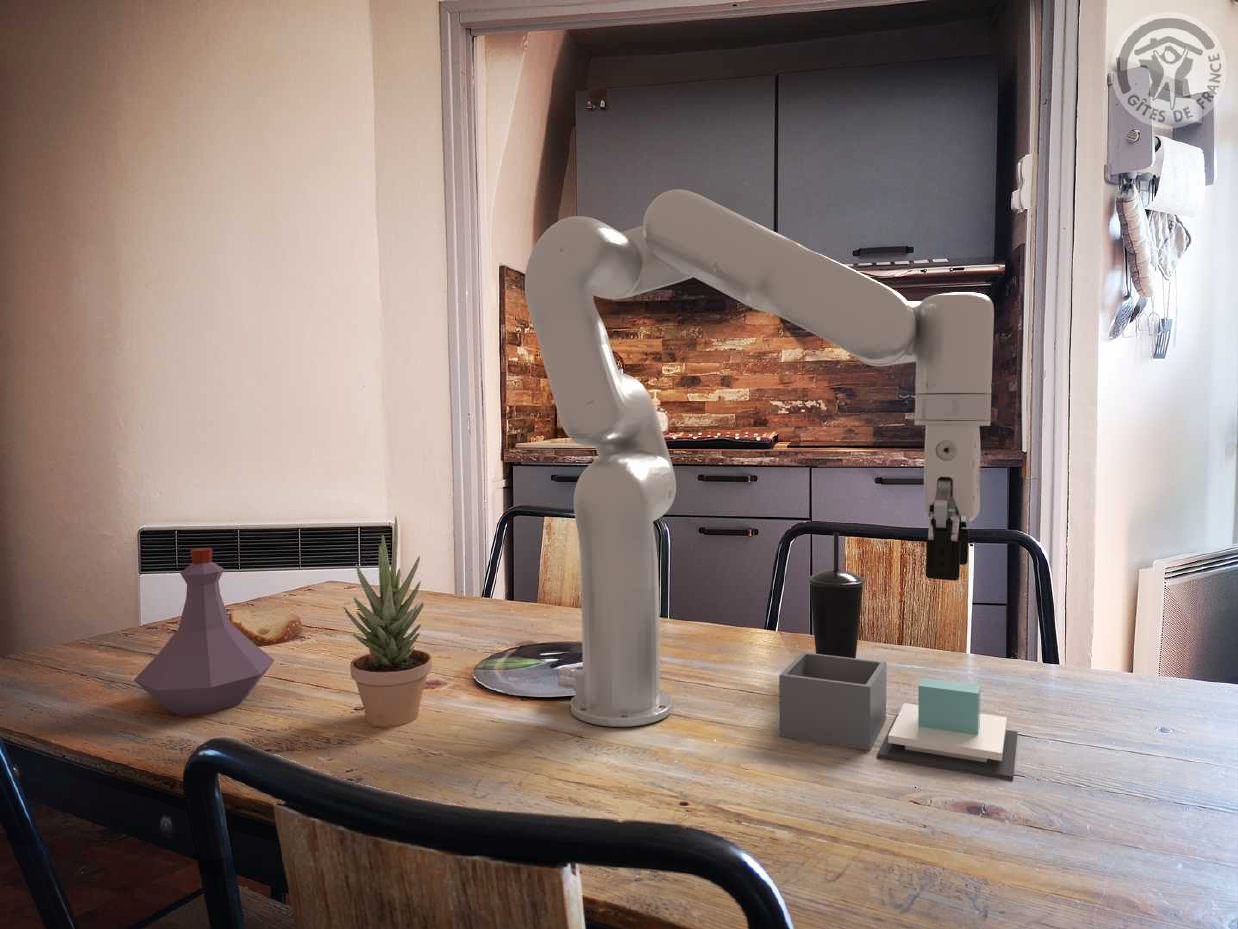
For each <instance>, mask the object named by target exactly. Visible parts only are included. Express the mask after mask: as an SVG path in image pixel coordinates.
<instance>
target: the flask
mask: <svg viewBox="0 0 1238 929" xmlns="http://www.w3.org/2000/svg"><path fill="white" fill-rule="evenodd" d="M189 552H190V556H191V558H190V559H191V563H190V564H189V565H187V567H186V568H184V569H183V570H182V571H181V572H179V573H180V575H181V577H182V579H183V580H184V582H185V584H186V592H185V593H186V595H185V601H184V605H183V609H182V613H181V617H180V620H179V624H178V628H177V630H176V631H175V632H174V634H173V635H172V636H171V637H170V638H169V639H168V641H167V642H166V643H165V645H164V646H163V648H161V650H160V651H159V652H158V653H157V654H156V655H155V657H153V659H152V660H151V661H150V662H149V663H148V664H147V665H146V666H145V667H144V669H143V670H141V672H140V673H139V674H138V675H137V676H136V677H135V678H134V679H133V681H134V683H135V684H137V685H138V686H140V687H141V688H142V689H143V690H144V691H145V692H146V693H147V694H149V695H150V696H151V697H152V698H154V699H155V700H156V701H157V702H158V703H160V704H161V705H162V706H163V707H164V708H166V709H167V711H171V712H172V713H175V714H176V715H177V714H178V715H179V716H184V715H204V714H205V715H206V714H207V715H208V714H213V713H217V712H220V711H224V710H227V709H230V708H233V707H237V706H240V705H241V704H242V702H243V701H244V700H245V699H246V698H247V697H248V696H249V694H250V693H251V692H252V691H253V689H254V688H255V687H256V685H257V684H258V683H259V681H260V680H261V679H262V678H263V676H264V675H265V673H266V672H267V671H268V670H269V668H270V667H271V666H272V664H273V663H274V662H275V659H274V658H273V657H271V656H270V655H269V654H268V653H267V652H265V651H264V650H263V649H261V648H260V646H256V645H255V644H254V643H252V642H251V641H250V640H249V639H248V638H247V637H245V636H244V635H243V634H242V633H241V632H240V631H239V630H238V629H237V628H236V627H235V626H234V625H233V624H232V623H231V622H230V620H229V615H228V612H227V609H226V606H225V604H224V600H223V598H222V595H221V590H220V583H219V581H220V579H221V577H222V575H223V573H224V570H225V568H223V567H222V566H220V565H218V564H217V563H215V562H213V561H212V559H213V548H212V547H199V548H193V549H190V551H189Z"/></svg>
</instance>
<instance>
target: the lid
mask: <svg viewBox="0 0 1238 929" xmlns="http://www.w3.org/2000/svg"><path fill="white" fill-rule="evenodd" d="M981 690H982V689H981V684H974V683H967V682H959V681H949V680H941V679H934V678H933V679H932V678H927V677H922V678H921V680H920V681H919V685H918V697H917V698H918V699H917V700H918V704H914V703H907V702H906V703H905V702H904V703H903V705H901V706H902V707H901V709H900V711H899V713H898V714H899V715H898V717H897V719H896V721H895V723H894V725H893V727H892V729H891V731H890V733H889V735H888V743H893V744H899V745H905V749H907V750H913V751H919V752H925V753H931V754H938V755H944V756H950V757H956V758H962V759H969V760H975V761H981V762H987V759H993V760H1000V761H1002V756H1003V749H1004V741H1005V734H1006V730H1007V727H1008V718H1007V716H1001V715H995V714H987V713H985V714H984V713H981Z"/></svg>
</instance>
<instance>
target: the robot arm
mask: <svg viewBox="0 0 1238 929" xmlns="http://www.w3.org/2000/svg"><path fill="white" fill-rule="evenodd" d="M526 264H527V265H526V267H525V268H526V269H525V275H524V295H525V302H526V306H527V312H528V313H529V314H528V315H529V317H530V318H529V319H530V321H531V325H532V328H533V331H534V334H535V338H536V340H537V343H538V347H539V351H540V355H541V358H542V362H543V366H544V369H545V373H546V376H547V380H548V384H549V387H550V390H551V393H552V397H553V400H554V403H555V407H556V411H557V415H558V417H559V418H558V419H559V422H560V424H561V427H562V430H564V433H565V434H566V436H567V437H568V438H569V439H570V440H571V441H573V442H575V443H576V444H579V445H581V446H585V447H594V448H595V450H596V454H597V457H598V459H596V460H594V461H593V462H592V463H590V464H589V465H588V466H586V468H585V469H584V470H583V472H582V473H581V474H580V476H579V478H578V480H577V481H576V485H575V489H574V493H573V513H574V517H575V524H576V529H577V530H576V531H577V536H578V544H579V545H578V546H579V555H580V556H579V557H580V558H579V560H580V586H581V588H580V589H581V639H582V640H581V641H582V642H581V643H582V644H581V646H582V649H581V650H582V669H577V668H575V667H574V668H573V667H568V666H562V667H560V669H559V672H558V679H557V686H558V687H560V688H566V689H568V688H569V689H573V690H574V692H575V695H574V696H573V697H572V698H571V700H570V711H571V713H572V714H573V716H574V717H576V718H577V719H578V720H580V721H583V722H584V723H589V724H593V725H597V726H603V727H616V728H617V727H620V728H623V727H624V728H625V727H637V726H643V725H649V724H653V723H656V722H659V721H661V720H663V719H665V718H667V717H668V716H669V715H670V714H671V713H672V711H673V708H674V707H673V699H672V697H671V695H669V694H668V693H667V692H665V691H663V690H661V684H660V683H661V678H660V677H661V676H660V675H661V670H660V668H661V666H660V665H661V664H660V661H661V660H660V658H661V657H660V655H661V654H660V585H659V559H658V558H659V557H658V549H657V541H656V534H655V530H654V529H655V528H654V521H656V520H658V519H660V518H662V517H663V516H664V515H665V514H667V513H668V511H669V510H670V508H671V507H672V505H673V503H674V501H675V497H676V492H677V482H676V480H677V479H676V475H675V470H674V467H673V462H672V459H671V456H670V454H669V450H668V446H667V443H666V440H665V437H664V433H663V430H662V426H661V424H660V423H661V422H660V420H659V417H658V413H657V411H656V407H655V405H654V402H653V399H652V397H651V395H650V394H649V392H648V390H647V388H645V386H644V385H643V384H642V383H641V382H640V381H639V380H637V378H635V377H633V376H632V375H629V374H626V373H624V372H623V373H622V372H620V370H619V367H618V365H617V362H616V359H615V357H614V354H613V351H612V347H611V344H610V340H609V334H608V332H607V329H606V327H605V325H604V322H603V320H602V318H601V316H600V314H599V311H598V309H597V307H596V304H595V300H594V299H595V298H594V296H595V297H598V298H600V299H605V300H623V299H627V298H632V297H635V296H637V295H641V294H645V293H647V292H651V291H655V290H658V289H662V288H664V287H668V286H672V285H674V284H678V283H682V282H684V281H686V280H689V279H692V278H695V279H696V280H699V281H701V282H702V283H704V284H706V285H708V286H709V287H711V288H714V289H716V290H717V291H720V292H722V293H723V294H725V295H727V296H729V297H730V298H733V299H734V300H736V301H738V302H740V303H742V304H743V305H745V306H747V307H750V308H752V309H754V310H756V311H759V312H763V313H767V314H771V315H774V316H778V317H779V318H781V319H784V320H786V321H788V322H790V323H792V324H794V325H796V326H798V327H800V328H802V329H804V330H806V331H808V332H809V333H811V334H813V335H815V336H818V337H819V338H821V339H822V340H825V341H827V342H829V343H831V344H832V345H834V346H836V347H838V348H840V350H841V349H842V350H843V351H845V352H847V353H849V354H851V355H852V356H854V357H855V358H856V359H857V360H858V361H860V362H862V363H864V364H866V365H869V366H873V367H874V366H875V367H885V366H894V365H899V364H900V365H901V364H907V363H914V362H915V398H914V399H915V401H914V402H915V403H914V426H925V435H924V456H923V457H924V459H923V460H924V461H923V462H924V464H923V466H924V467H923V509H924V510H923V511H924V516H925V517H926V518H928V519H929V524H928V533H927V539H926V550H925V551H926V552H925V554H926V555H925V576H926V578H928V579H932V580H940V581H941V580H944V581H953V582H955V581H958V580H959V578H960V566H961V565H962V566H965V565H966V564H968V560H969V558H968V557H969V536H970V535H969V528H968V522H972V521H974V520H975V519H976V517H978V515H979V513H980V510H981V509H980V508H981V498H980V497H981V495H980V493H981V491H980V490H981V431H980V427H986V426H987V427H990V426H991V410H992V406H991V405H992V382H993V381H992V379H993V353H994V352H993V351H994V350H993V347H994V346H993V345H994V327H995V326H994V321H995V312H994V311H995V309H994V303H993V301H992V299H991V298H990V297H989V296H987V295H986V294H982V293H977V292H949V293H948V292H947V293H945V292H944V293H940V294H939V293H938V294H933V295H930V296H928V297H926V298H924V299H923V300H921V301H913V300H912V301H911V300H910V301H909V300H907V299H906V298H905V297H904V296H903V295H902V294H900V293H899V292H897V291H895V290H894V289H892V288H890V287H889V286H888V285H885V284H883V283H881V282H878V281H877V280H875V279H873V278H871V277H868V276H867V275H865V274H863V273H861V272H858V271H857V270H855V269H852V268H851V267H849V266H847V265H845V264H842V263H840V262H838V261H836V260H834V259H831V257H827V256H825V255H823V254H820V253H818V252H816V251H813V250H812V249H810V248H807V247H805V246H804V245H802V244H800V243H798V242H797V241H794V240H792V239H790V238H787V237H786V236H783V235H782V234H779V233H778V232H775V231H774V230H770V229H768V228H767V227H765V226H763V225H760V224H758V222H757V223H756V222H755V221H753V220H751V219H749V218H747V217H745V216H742V214H739V213H736V212H735V211H733V210H731V209H729V208H727V207H726V206H725V207H724V206H723V205H721V204H719V203H717V202H715V201H713V200H711V199H709V198H707V197H705V196H702V195H700V194H699V193H695V192H693V191H690V190H685V189H678V188H677V189H671V190H667V191H665V192H661V194H659V195H658V196H656V197H655V199H653V200H652V202H651V203H650V204H649V205H648V207H647V209H646V211H645V213H644V217H643V221H642V225H641V226H638V227H634V228H631V229H627V230H625V231H621V232H620V231H619V230H617V229H615V228H613V227H611V226H610V225H608V224H606V223H604V222H602V221H600V220H598V219H595V218H593V217H588V216H583V215H577V216H569V217H566V218H565V217H564V218H563V219H560V220H558V221H557V222H555V223H553V224H552V225H551V226H550V227H549V228H547V229H546V230H545V231H544V232H543V234H542V235H541V236H540V237H539V239H538V240H537V241H536V243H535V245H534V247H533V249H532V251H531V252H530V255H529V258H528V261H527V263H526Z"/></svg>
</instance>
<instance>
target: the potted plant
mask: <svg viewBox="0 0 1238 929" xmlns="http://www.w3.org/2000/svg"><path fill="white" fill-rule="evenodd" d="M394 517H395V518H394V527H393V528H394V530H393V541H392V552H391V554H392V555H391V563H390V561H389V555H388V549H387V544H386V539H385V536H384V534H382V535H381V545H379V546H378V580H379V593H380V594H379V595H380V596H378V595H377V593H376V592H375V591H374V589H373V588H372V586H371V585H370V584H369V582H368V580H367V579H366V577H365V576H364V574H363V573H362V570H361V569H360V566H359V565H358V564H356V563H355V569H356V574H357V578H358V580H359V583H360V585H361V587H362V589H363V591H364V594H365V596H366V598H367V600H368V602H369V605H370V608H371V610H372V611H370V610H369V609H368V608H367V607H366V606H365V605H364V604H363V603H361V601H359V600H358V599H357V597H355V596H353V602H354V603H355V604H356V607H357V608H358V610H359V611H360V612H361V613H360V612H356V615H357V616H358V618H359V619H360V620H361V622H362V623H363V625H362V624H361V623H360V621H358V620H357V619H356V618H355V617H354V616H353V615H352V614H351V613H350V611H348V609H347V607H345V606H343V607H342V609H344V613H345V614H346V615H347V616H348V618H349V619H350V620H351V622H352V623H353V625H354V626H356V628H357V629H358V630H359V631H360V632H361V633H362V634H363V635H364V636H365V638H364V637H361V636H359V635H357V634H352V636H353V637H354V638H355V639H356V640H358V641H359V642H360V643H362V645H364V646H365V647H366V648H368V651H369V652H366V653H362V654H361V655H358V656H356V657H355V658H353V659H352V660H351V661H350V665H349V666H350V677H351V679H352V680H354V681H355V684H356V688H357V690H358V693H359V694H358V695H359V697H360V701H361V703H362V708H363V710H364V713H365V714H364V715H365V719H366V720H365V721H367V723H368V724H369V725H372V726H373V727H382V728H385V727H386V728H387V727H388V728H389V727H397V726H402V725H406V724H410V723H411V722H413V721H415V720H416V719H418V717H419V712H420V706H421V700H422V696H423V693H424V688H425V686H426V685H425V684H426V681H427V678H428V675H429V674H430V673H431V671H432V669H433V667H432V666H433V665H432V664H433V661H432V659H433V658H432V656H431V654H430V653H429V652H426V651H423V650H419V649H415V646H414V644H415V643H416V642H417V639H418V638H419V636H420V634H421V633H420V632H418V630H419V629H420V628H421V626H422V625H421V624H418V625H417V626H416V627H415V628H414V629H413V630H412V631H411V632H410V633H409V634H408V635H407V636H406V634H407V633H408V631H409V630H410V628H411V627H412V626H413V624H414V622H415V621H416V619H417V618H418V616H419V615H420V613H421V611H422V609H423V608H424V606H425V604H424V601H422V602H421V603H420V604H419V603H417V604H416V605H415V606H414V607H413V608H411V609H410V607H411V606H412V604H413V603H414V600H415V598H416V596H417V594H418V592H419V589H420V586H421V580H420V581H418V583H417V585H416V586H415V588H414V589H413V590H412V592H411V594H410V595H409V596H408V598H406V600H405V601H404V599H405V597H406V596H407V593H408V591H409V589H410V586H411V585H412V581H413V579H414V577H415V574H416V572H417V570H418V567H419V564H420V559H421V557H420V556H421V555H419V556H418V557H417V559H416V561H415V562H414V564H413V566H412V568H411V570H410V571H409V573H408V575H407V577H406V579H405V581H404V582H403V583H402V585H401V577H402V574H401V573H402V571H401V568H400V567H399V568H398V570H397V565H398V546H399V545H398V544H399V536H398V535H399V530H398V528H399V527H398V519H397V516H394ZM403 602H404V603H403ZM402 603H403V604H402ZM365 626H366V628H367V629H368V630H367V629H366V628H365ZM417 632H418V633H417ZM415 634H416V635H415Z"/></svg>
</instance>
